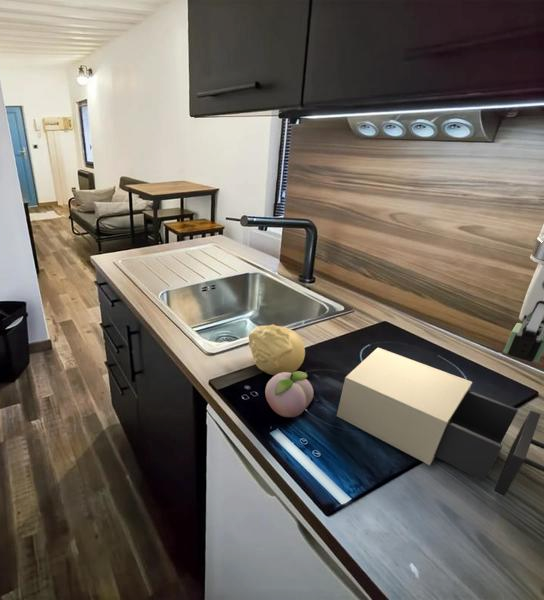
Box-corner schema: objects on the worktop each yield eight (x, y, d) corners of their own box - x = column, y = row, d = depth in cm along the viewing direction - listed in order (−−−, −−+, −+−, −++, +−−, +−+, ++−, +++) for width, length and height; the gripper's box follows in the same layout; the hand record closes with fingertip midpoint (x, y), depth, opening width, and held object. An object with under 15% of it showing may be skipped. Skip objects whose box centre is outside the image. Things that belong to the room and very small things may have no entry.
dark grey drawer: (566, 468, 58) (589, 432, 55) (553, 522, 51) (579, 484, 48) (421, 405, 72) (433, 373, 69) (395, 440, 65) (406, 407, 62)
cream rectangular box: (455, 422, 69) (472, 381, 65) (429, 465, 61) (447, 422, 57) (367, 383, 80) (377, 347, 76) (336, 416, 72) (345, 377, 68)
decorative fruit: (277, 392, 79) (282, 354, 75) (315, 411, 74) (322, 371, 69) (254, 415, 74) (258, 375, 69) (292, 437, 68) (299, 395, 64)
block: (542, 352, 64) (552, 331, 62) (537, 362, 61) (548, 340, 60) (508, 343, 67) (517, 322, 65) (502, 352, 65) (511, 331, 63)
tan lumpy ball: (239, 360, 90) (242, 323, 86) (279, 349, 94) (283, 312, 89) (269, 388, 81) (274, 347, 76) (312, 373, 84) (319, 334, 80)
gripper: (599, 274, 49) (544, 382, 57) (609, 244, 58) (561, 341, 66) (522, 262, 54) (482, 362, 62) (542, 236, 64) (505, 327, 71)
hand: (523, 350), depth 64 cm, fingers closed on block, 4 cm apart
